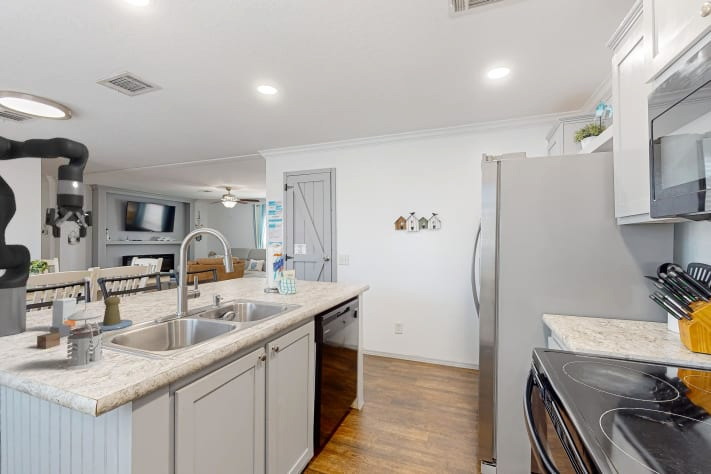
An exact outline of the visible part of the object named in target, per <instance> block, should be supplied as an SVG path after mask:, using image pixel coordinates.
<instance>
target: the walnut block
mask: <svg viewBox="0 0 711 474" xmlns="http://www.w3.org/2000/svg"><path fill="white" fill-rule="evenodd" d="M60 345H61V338H60V333H50V332H47V333H44V334H40V335H37V336H36V348H37V349H44V350H47V349H50V348H55V347H58V346H60Z"/></svg>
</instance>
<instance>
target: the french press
mask: <svg viewBox="0 0 711 474" xmlns="http://www.w3.org/2000/svg"><path fill="white" fill-rule="evenodd" d="M90 281H91V278H90V277H89V276H84V277H82V279H81V282H85V284H84V285H85V287H84V288H85V291H84V292H85V296H84V297H85V299H84V302H85V307H84V308H85V309H82V310H80V311H76V313H74V314H72V315H70V316H69V317H67V319H68V320H70V321H76V322H81V321H84V326H83V327H82V326H81V327H77V328H72V329H71V331H70V332H69V333H70V334H71V335H70V336H67V351H66V352H67V355H66V357H67V359H66V360H67V361H66V363H65V364H64V365H63V366H62V369H63V370H67V371H76V370H77V371H78V370H85V369H88V368H92V367H97V366H99V365H101V364H103V363H105V362H106V361H107V358H106V357H105V356H103V331H99V330H100V329H101V327H99V326H98V324H97V323H98V322H97V321H95V322H94V326H92V327H91V325H92V324H90V323H87V321H88V320H94V319H98V318H100V317H102V316H103V315H104V313H103V312H101V311H98V310H94V309H87V286H88V285H87V284H88V283H87V282H90ZM96 324H97V326H95V325H96ZM89 326H90V327H89ZM90 352H92V353H90Z"/></svg>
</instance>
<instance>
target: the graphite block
mask: <svg viewBox="0 0 711 474" xmlns="http://www.w3.org/2000/svg"><path fill="white" fill-rule="evenodd" d="M71 330H72V329H71V325H68V324H61V325H56V326H52V325H51V326H50V332H49V333H60V339H62V338H65V337H66V338H68V337H69V336H70V335H72V334H70V333H69V332H70V331H71Z"/></svg>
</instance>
